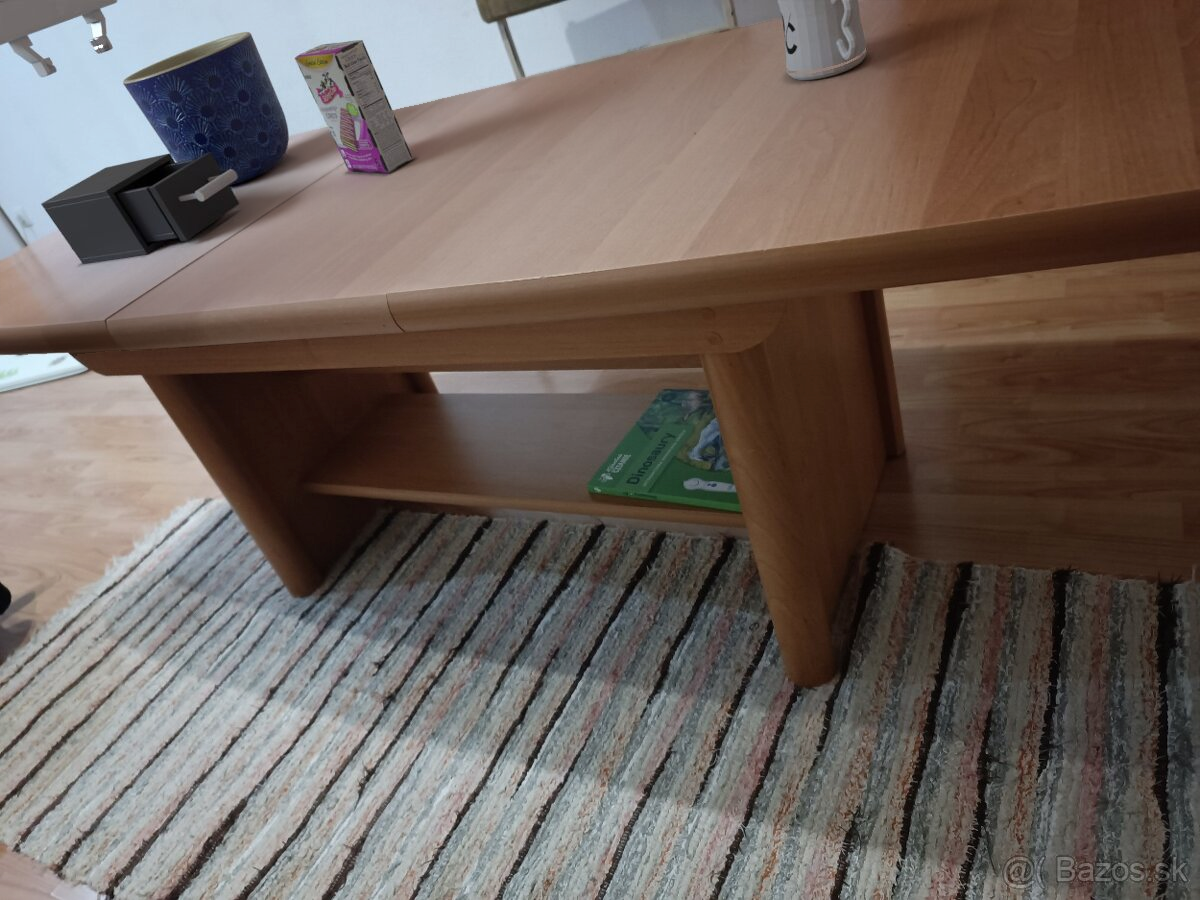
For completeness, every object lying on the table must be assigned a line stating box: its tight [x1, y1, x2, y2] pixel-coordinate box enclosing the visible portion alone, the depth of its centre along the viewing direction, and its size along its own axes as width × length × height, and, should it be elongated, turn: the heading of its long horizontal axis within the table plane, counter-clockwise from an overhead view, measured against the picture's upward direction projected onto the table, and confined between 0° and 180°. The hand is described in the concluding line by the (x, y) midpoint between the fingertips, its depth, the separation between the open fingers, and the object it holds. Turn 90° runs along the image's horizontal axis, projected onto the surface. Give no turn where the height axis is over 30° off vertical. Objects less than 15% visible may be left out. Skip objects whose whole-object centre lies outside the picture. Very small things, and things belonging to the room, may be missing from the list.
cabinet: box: [40, 153, 176, 264], centre depth 128 cm, size 15×13×10 cm
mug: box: [777, 0, 868, 81], centre depth 96 cm, size 12×9×10 cm
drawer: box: [114, 152, 240, 243], centre depth 123 cm, size 18×11×8 cm, turn 69°
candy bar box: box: [294, 39, 414, 174], centre depth 119 cm, size 11×5×16 cm, turn 47°
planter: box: [122, 31, 290, 187], centre depth 140 cm, size 21×21×19 cm
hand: (78, 62), depth 112 cm, fingers open, 8 cm apart
